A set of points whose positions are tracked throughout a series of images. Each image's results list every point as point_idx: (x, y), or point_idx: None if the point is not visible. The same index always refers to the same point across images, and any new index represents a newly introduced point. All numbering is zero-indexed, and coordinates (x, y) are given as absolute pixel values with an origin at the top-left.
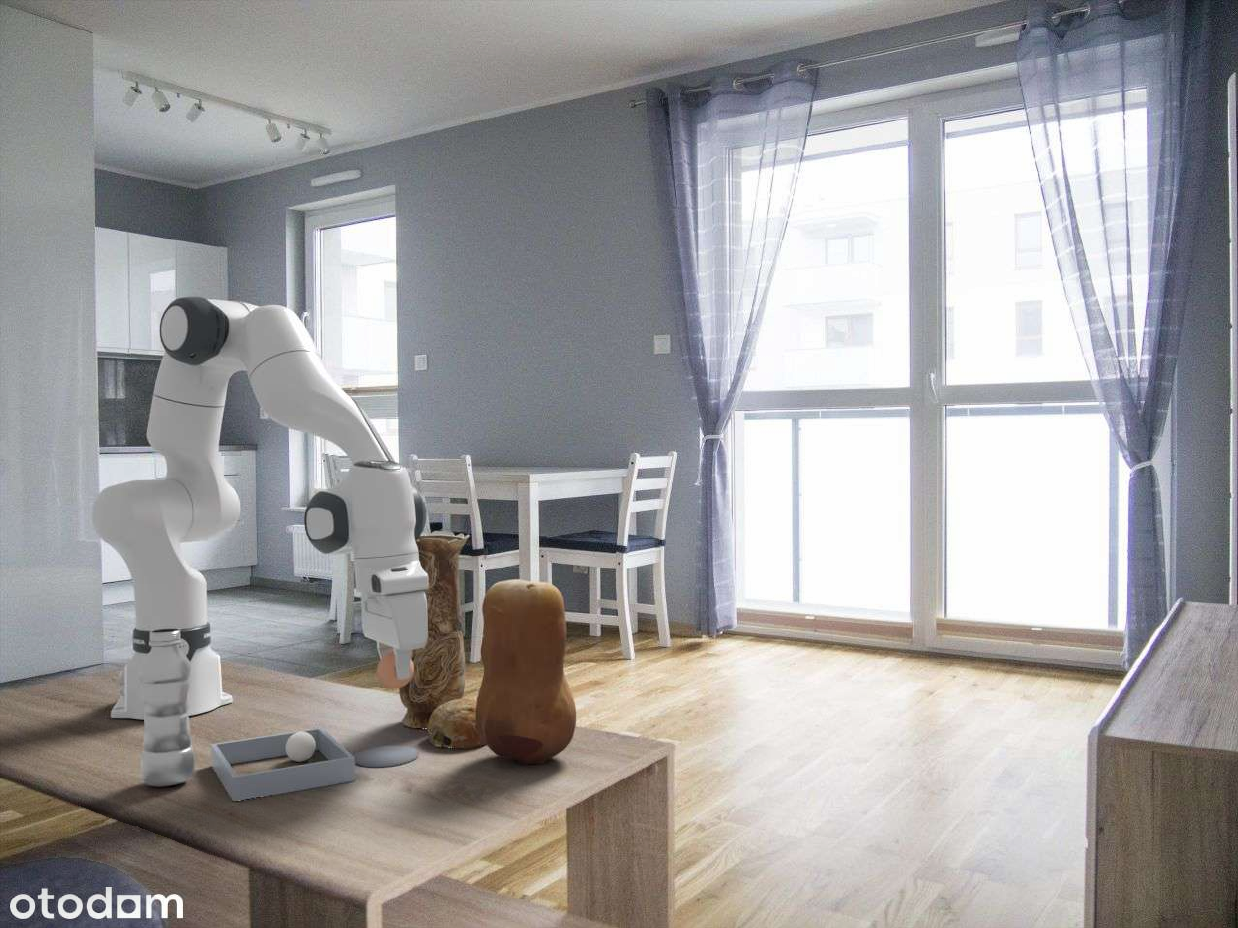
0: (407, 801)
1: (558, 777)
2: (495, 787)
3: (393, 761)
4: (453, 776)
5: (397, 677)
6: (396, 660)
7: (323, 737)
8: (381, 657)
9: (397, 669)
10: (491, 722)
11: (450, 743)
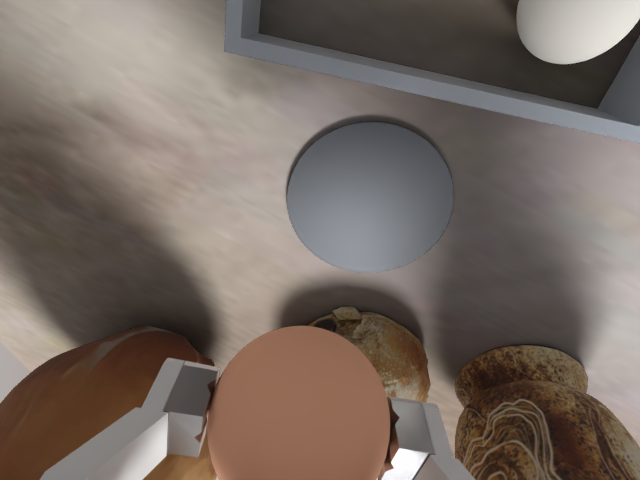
0: (14, 66)
1: (51, 332)
2: (39, 245)
3: (307, 193)
4: (143, 230)
5: (168, 362)
6: (98, 442)
7: (563, 108)
8: (443, 473)
9: (148, 398)
10: (61, 365)
11: (314, 324)
